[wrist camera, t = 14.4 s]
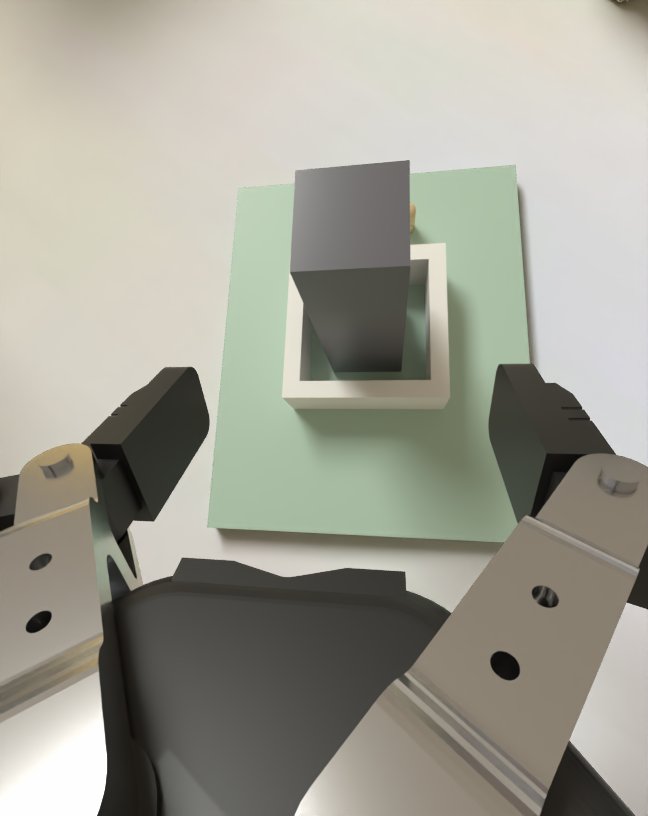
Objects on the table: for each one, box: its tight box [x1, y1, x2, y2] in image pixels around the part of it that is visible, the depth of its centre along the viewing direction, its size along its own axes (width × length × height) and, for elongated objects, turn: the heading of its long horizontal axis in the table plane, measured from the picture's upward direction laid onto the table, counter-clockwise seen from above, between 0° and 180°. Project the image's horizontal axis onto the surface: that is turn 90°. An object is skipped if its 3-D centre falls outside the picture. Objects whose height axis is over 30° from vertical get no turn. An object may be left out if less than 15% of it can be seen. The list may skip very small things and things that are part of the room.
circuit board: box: [207, 165, 530, 542], centre depth 21 cm, size 20×16×4 cm
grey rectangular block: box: [290, 160, 411, 372], centre depth 17 cm, size 4×4×10 cm
